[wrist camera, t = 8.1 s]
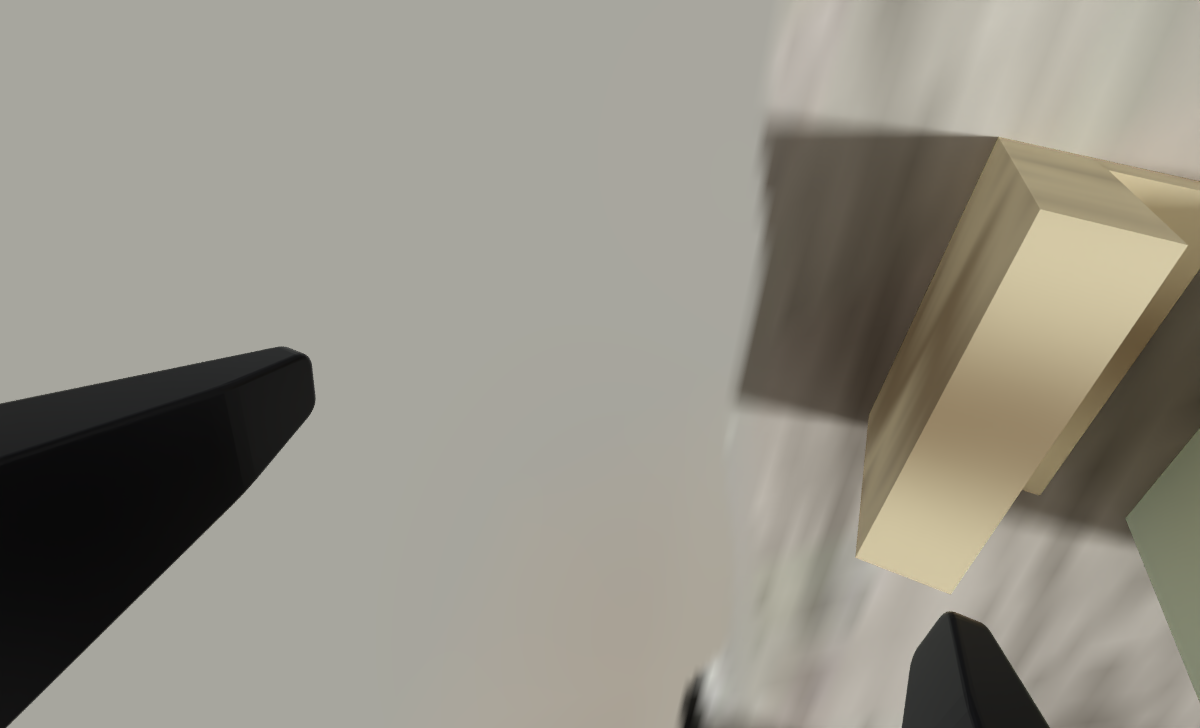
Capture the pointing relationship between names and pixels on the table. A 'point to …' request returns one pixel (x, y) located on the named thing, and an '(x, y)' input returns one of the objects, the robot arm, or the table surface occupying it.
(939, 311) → the bookend
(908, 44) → the table surface
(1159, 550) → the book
